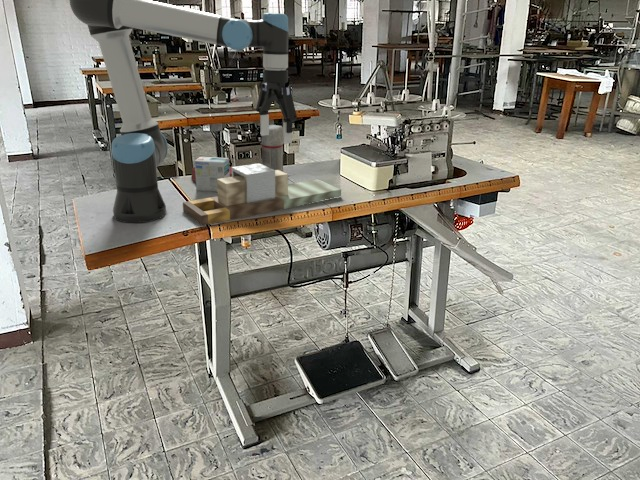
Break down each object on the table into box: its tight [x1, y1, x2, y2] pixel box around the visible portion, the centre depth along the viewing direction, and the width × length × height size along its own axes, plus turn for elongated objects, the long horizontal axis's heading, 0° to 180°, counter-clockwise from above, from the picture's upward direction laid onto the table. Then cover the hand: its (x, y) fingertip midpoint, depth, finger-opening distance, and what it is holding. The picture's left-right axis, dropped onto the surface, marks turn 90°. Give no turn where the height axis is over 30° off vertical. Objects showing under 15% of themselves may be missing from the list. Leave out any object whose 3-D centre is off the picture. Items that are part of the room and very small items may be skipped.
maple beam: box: [217, 170, 289, 206], centre depth 165 cm, size 22×6×7 cm, turn 126°
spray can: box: [261, 124, 284, 172], centre depth 194 cm, size 8×8×20 cm
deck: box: [182, 178, 342, 226], centre depth 169 cm, size 51×14×3 cm, turn 126°
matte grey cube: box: [231, 163, 275, 205], centre depth 165 cm, size 10×10×10 cm
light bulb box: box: [194, 156, 230, 192], centre depth 182 cm, size 11×7×11 cm, turn 84°
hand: (275, 139), depth 165 cm, fingers open, 13 cm apart
